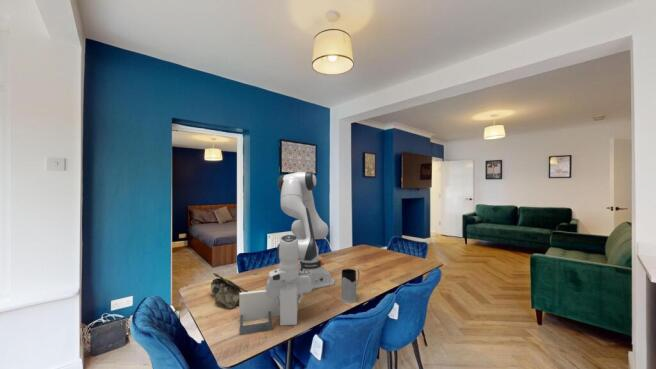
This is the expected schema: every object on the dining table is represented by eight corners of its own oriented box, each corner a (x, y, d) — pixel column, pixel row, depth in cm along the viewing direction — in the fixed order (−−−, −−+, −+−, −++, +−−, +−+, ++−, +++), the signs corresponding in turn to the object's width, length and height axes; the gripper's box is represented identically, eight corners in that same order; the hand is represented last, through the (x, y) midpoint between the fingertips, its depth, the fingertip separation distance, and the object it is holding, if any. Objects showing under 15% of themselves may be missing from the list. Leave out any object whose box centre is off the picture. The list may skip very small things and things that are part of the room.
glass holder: (337, 300, 140) (337, 271, 140) (352, 291, 151) (352, 265, 151) (350, 304, 134) (350, 275, 134) (365, 295, 145) (365, 268, 145)
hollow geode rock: (216, 300, 150) (196, 285, 144) (232, 280, 156) (214, 265, 150) (234, 317, 129) (212, 300, 122) (252, 294, 135) (231, 277, 128)
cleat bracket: (270, 317, 120) (270, 311, 121) (272, 329, 110) (272, 322, 110) (240, 322, 117) (240, 315, 117) (239, 334, 107) (239, 327, 107)
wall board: (296, 311, 127) (296, 286, 127) (297, 313, 125) (297, 287, 125) (239, 319, 119) (239, 292, 119) (239, 321, 117) (239, 294, 117)
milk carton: (281, 317, 121) (281, 275, 121) (297, 317, 121) (297, 275, 121) (280, 325, 114) (279, 281, 114) (296, 325, 114) (296, 280, 114)
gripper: (310, 268, 124) (310, 298, 124) (265, 272, 118) (265, 303, 118) (313, 272, 118) (313, 304, 118) (266, 277, 112) (266, 310, 112)
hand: (288, 304), depth 117 cm, fingers closed on milk carton, 7 cm apart
